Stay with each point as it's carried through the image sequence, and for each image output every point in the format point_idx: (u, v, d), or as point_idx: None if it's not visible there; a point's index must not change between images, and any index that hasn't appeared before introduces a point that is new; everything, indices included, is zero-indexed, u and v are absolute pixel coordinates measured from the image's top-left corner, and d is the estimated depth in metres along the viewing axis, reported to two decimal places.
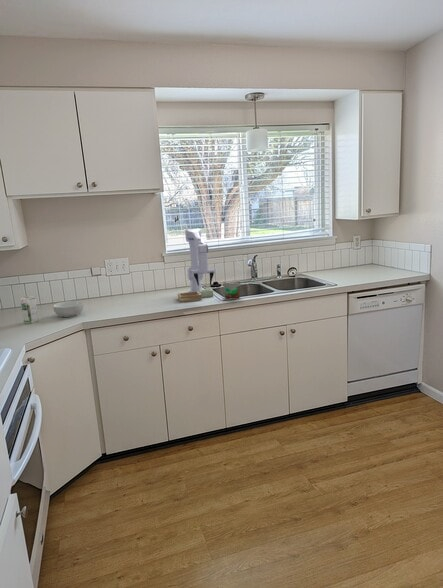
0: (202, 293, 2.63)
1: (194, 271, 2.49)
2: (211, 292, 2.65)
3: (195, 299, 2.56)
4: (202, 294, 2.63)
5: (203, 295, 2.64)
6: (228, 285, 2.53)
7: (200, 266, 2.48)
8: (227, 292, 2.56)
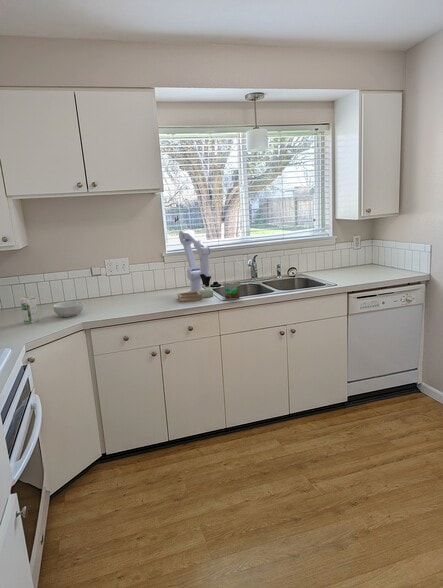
0: (202, 293, 2.63)
1: None
2: (211, 292, 2.65)
3: (195, 299, 2.56)
4: (202, 294, 2.63)
5: (203, 295, 2.64)
6: (228, 285, 2.53)
7: None
8: (227, 292, 2.56)
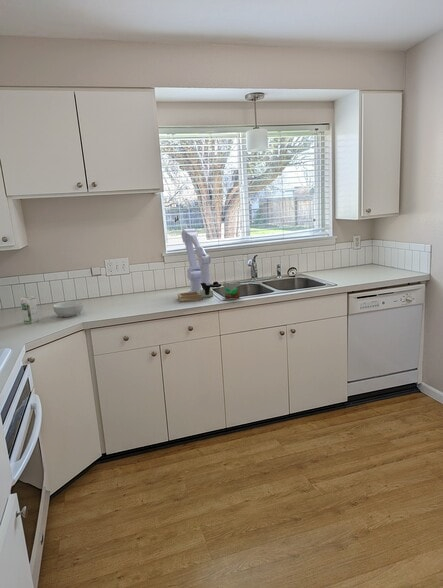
0: (202, 293, 2.63)
1: None
2: (211, 292, 2.65)
3: (195, 299, 2.56)
4: (202, 294, 2.63)
5: (203, 295, 2.64)
6: (228, 285, 2.53)
7: None
8: (227, 292, 2.56)
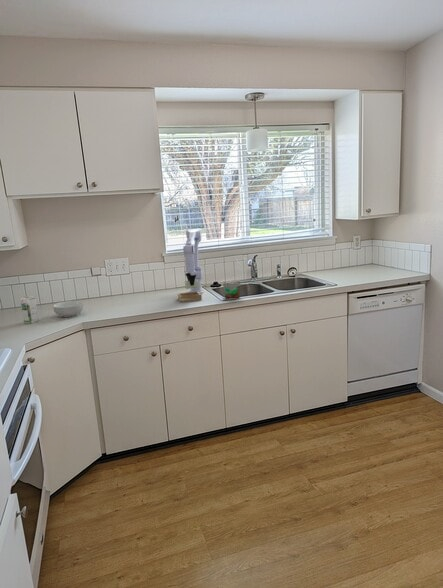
0: (187, 284, 2.56)
1: None
2: (197, 283, 2.57)
3: (195, 299, 2.56)
4: (187, 285, 2.56)
5: (188, 286, 2.56)
6: (228, 285, 2.53)
7: None
8: (227, 292, 2.56)
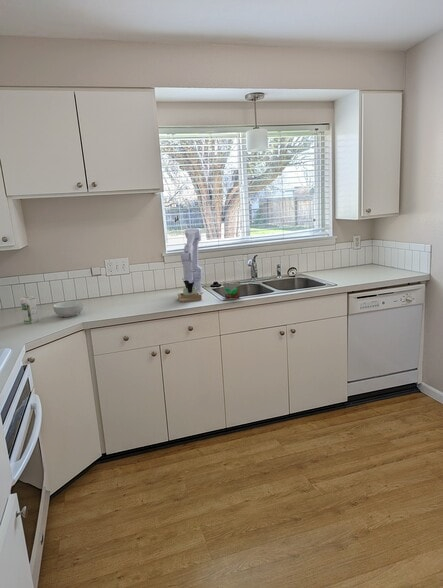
0: (185, 291, 2.56)
1: None
2: (194, 290, 2.57)
3: (195, 299, 2.56)
4: (185, 292, 2.56)
5: (186, 293, 2.56)
6: (228, 285, 2.53)
7: None
8: (227, 292, 2.56)
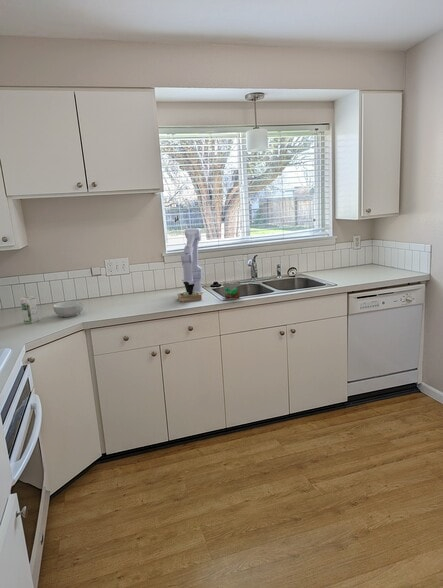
0: (185, 295, 2.56)
1: None
2: (195, 294, 2.58)
3: (195, 299, 2.56)
4: None
5: None
6: (228, 285, 2.53)
7: None
8: (227, 292, 2.56)
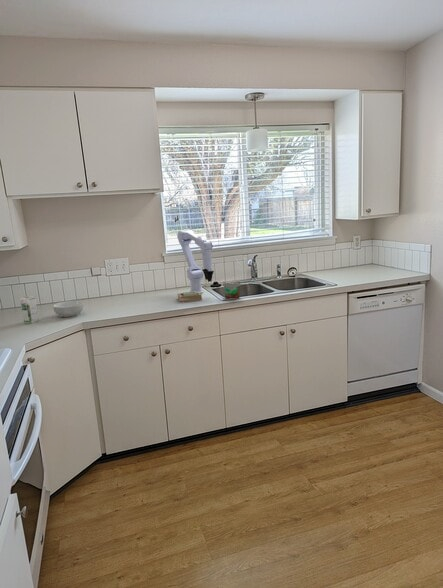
0: (185, 295, 2.56)
1: None
2: (195, 294, 2.58)
3: (195, 299, 2.56)
4: None
5: None
6: (228, 285, 2.53)
7: None
8: (227, 292, 2.56)
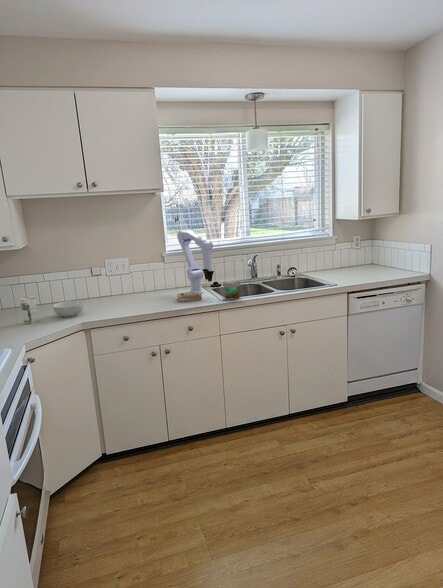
0: (185, 295, 2.56)
1: None
2: (195, 294, 2.58)
3: (195, 299, 2.56)
4: None
5: None
6: (228, 285, 2.53)
7: None
8: (227, 292, 2.56)
